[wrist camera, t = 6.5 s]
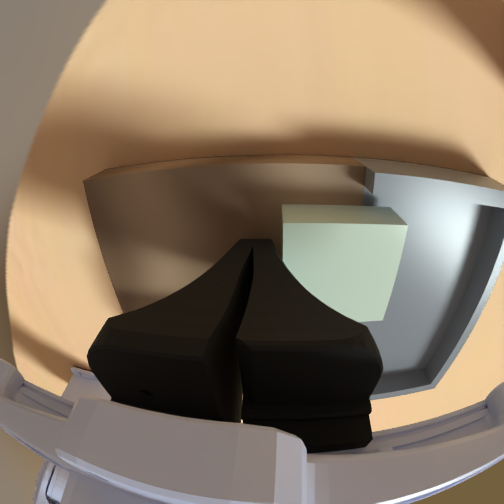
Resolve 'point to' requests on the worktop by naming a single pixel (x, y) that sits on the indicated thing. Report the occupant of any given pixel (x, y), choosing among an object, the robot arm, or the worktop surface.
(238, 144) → the worktop surface
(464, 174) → the slate tray
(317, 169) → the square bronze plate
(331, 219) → the sage tile
